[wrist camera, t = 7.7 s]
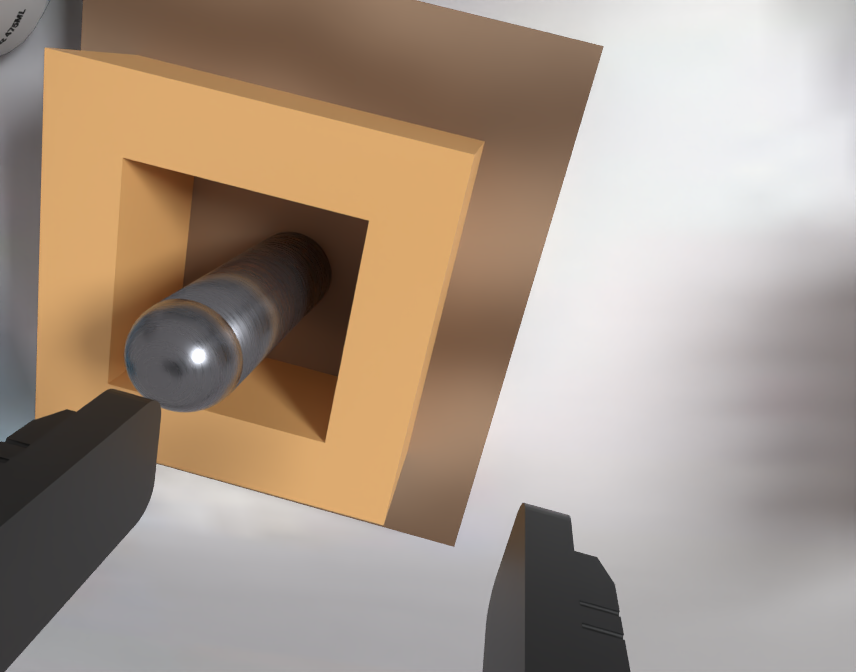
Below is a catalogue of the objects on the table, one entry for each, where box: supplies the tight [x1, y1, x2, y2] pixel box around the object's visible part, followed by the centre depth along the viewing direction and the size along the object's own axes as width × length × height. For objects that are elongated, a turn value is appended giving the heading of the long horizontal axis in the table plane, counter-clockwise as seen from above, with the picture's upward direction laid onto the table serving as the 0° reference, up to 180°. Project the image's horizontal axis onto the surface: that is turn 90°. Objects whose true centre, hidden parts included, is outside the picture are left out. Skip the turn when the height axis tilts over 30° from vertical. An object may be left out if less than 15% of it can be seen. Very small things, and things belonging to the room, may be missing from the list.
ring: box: [35, 48, 485, 525], centre depth 19 cm, size 10×10×4 cm
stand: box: [81, 0, 603, 547], centre depth 18 cm, size 16×14×10 cm
